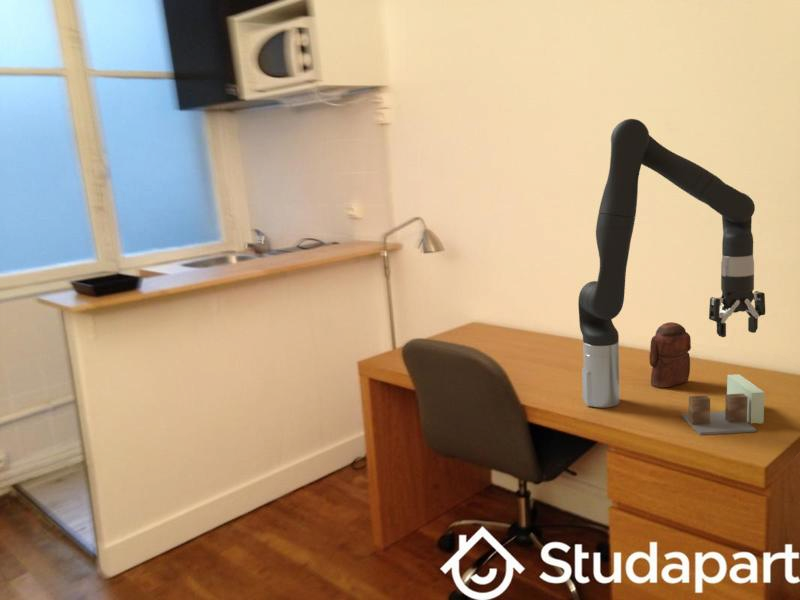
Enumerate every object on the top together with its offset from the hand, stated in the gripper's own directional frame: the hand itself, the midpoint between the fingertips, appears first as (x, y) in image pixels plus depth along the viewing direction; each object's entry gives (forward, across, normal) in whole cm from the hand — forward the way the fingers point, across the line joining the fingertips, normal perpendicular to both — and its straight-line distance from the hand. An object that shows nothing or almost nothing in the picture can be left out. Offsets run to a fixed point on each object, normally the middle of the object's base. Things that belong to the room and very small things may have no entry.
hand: (737, 334), depth 178 cm
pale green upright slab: (+19, +3, +7) cm, 20 cm away
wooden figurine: (+19, +8, -20) cm, 28 cm away
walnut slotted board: (+18, +13, +11) cm, 25 cm away
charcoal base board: (+18, +13, +11) cm, 25 cm away
